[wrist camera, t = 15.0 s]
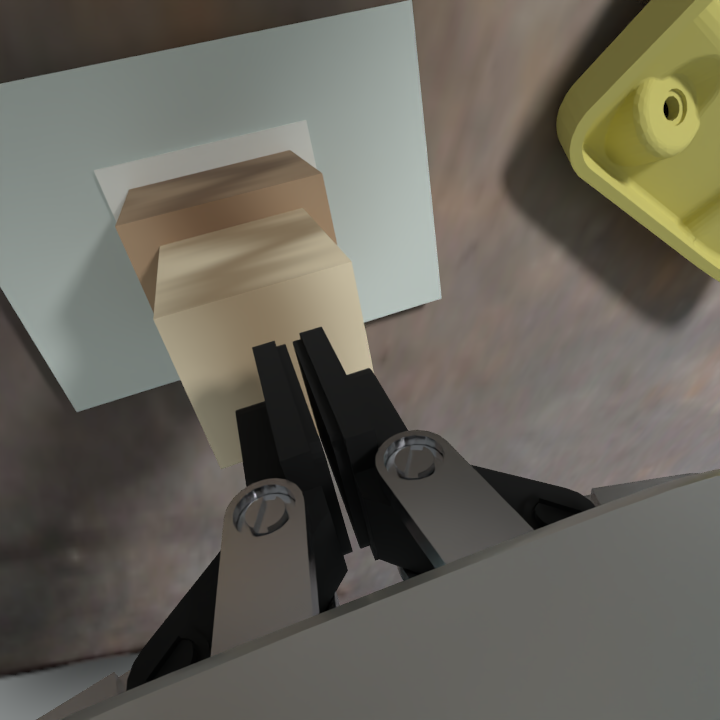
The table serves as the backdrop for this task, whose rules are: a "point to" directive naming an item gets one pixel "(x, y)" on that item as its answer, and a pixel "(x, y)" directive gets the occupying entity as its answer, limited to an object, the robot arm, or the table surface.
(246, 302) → the maple block
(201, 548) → the table surface
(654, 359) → the table surface
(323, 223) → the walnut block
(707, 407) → the table surface
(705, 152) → the plastic component
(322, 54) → the board
